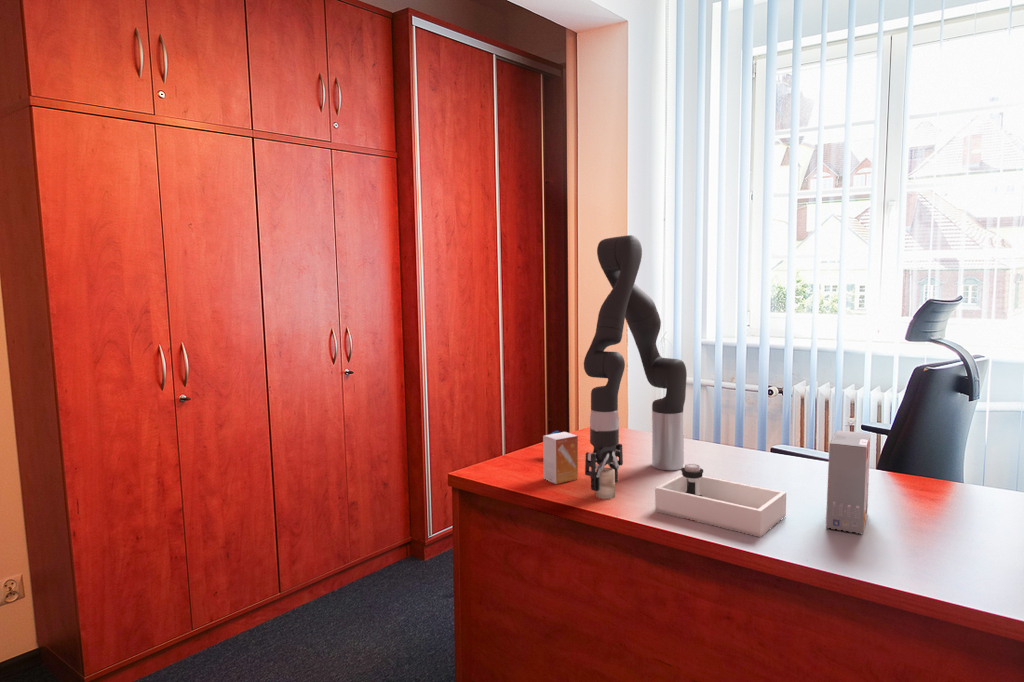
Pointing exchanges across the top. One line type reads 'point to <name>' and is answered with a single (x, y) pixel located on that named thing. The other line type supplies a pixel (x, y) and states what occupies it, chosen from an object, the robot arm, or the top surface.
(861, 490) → the hard drive box
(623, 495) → the top surface
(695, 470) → the push button
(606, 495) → the maple cylinder
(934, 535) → the top surface
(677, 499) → the tote
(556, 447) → the small box
